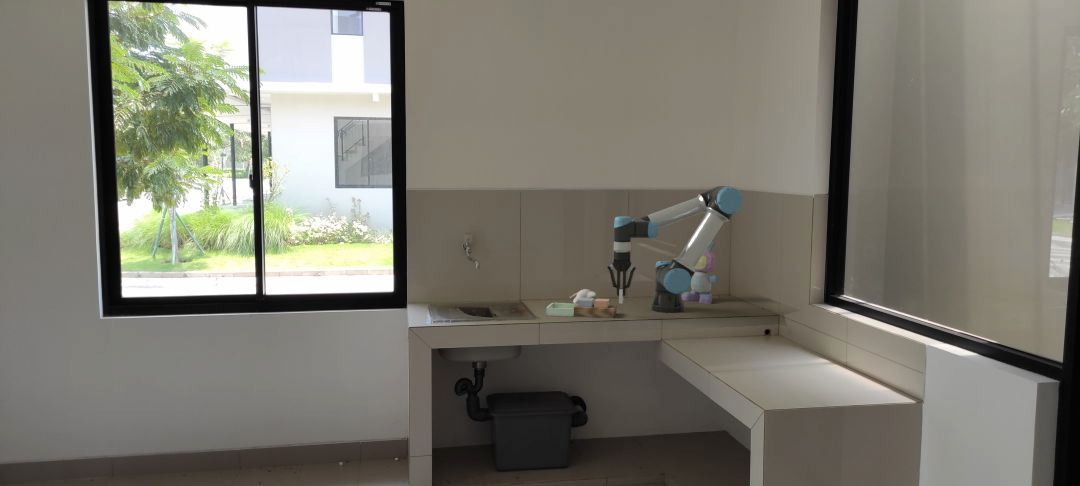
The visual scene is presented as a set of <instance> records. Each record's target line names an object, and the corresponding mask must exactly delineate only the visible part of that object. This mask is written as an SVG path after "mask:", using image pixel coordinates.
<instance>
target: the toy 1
mask: <svg viewBox="0 0 1080 486" xmlns="http://www.w3.org/2000/svg"><path fill="white" fill-rule="evenodd" d="M573 297H574V298H573ZM596 297H597V294H596V292H595V291H592V290H591V289H587V288H583V289H581V290H579V291H578V292H575V293H574V294H572V295H571V296H569V299H572V298H573V300H572V301H573V304H578V303H579V300H580V299H581V298H594V301H595V299H596Z"/></svg>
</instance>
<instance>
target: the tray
mask: <svg viewBox="0 0 1080 486" xmlns="http://www.w3.org/2000/svg"><path fill="white" fill-rule="evenodd" d="M576 305H577V304H574V303H571V302H570V303H569V302H568V303H567V302H551V303H550V304H548V305H547V306H546V307H545V316H546V317H547V316H548V317H549V316H550V317H551V316H553V317H570V318H571V317H575V316H574V307H575V306H576Z"/></svg>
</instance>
